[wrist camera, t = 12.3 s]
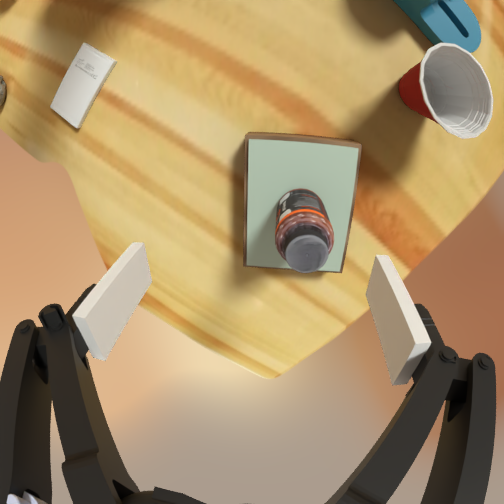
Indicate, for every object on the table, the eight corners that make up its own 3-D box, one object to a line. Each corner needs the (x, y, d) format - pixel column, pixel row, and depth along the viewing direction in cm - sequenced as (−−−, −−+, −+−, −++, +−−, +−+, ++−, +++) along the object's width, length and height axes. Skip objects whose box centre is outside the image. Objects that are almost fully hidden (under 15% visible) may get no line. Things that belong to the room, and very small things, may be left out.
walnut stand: (249, 131, 36) (244, 135, 32) (353, 140, 35) (363, 145, 30) (247, 251, 45) (242, 268, 40) (337, 257, 43) (342, 274, 39)
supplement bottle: (269, 195, 35) (264, 234, 25) (316, 180, 33) (330, 215, 23) (285, 237, 37) (285, 289, 27) (329, 224, 36) (345, 272, 26)
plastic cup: (459, 98, 29) (508, 104, 18) (417, 142, 33) (462, 159, 23) (412, 41, 26) (455, 25, 16) (366, 84, 31) (400, 77, 20)
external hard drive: (55, 105, 35) (88, 43, 30) (82, 127, 37) (119, 61, 32) (49, 106, 34) (82, 42, 29) (76, 128, 36) (113, 60, 31)
